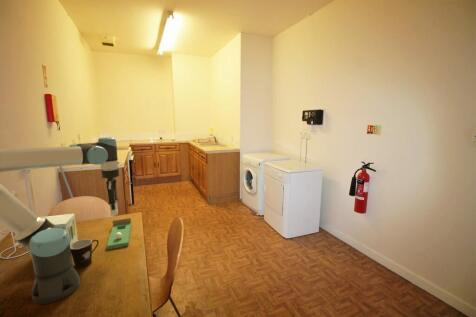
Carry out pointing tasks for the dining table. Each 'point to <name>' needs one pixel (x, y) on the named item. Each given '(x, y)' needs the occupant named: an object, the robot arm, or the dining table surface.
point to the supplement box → (65, 224)
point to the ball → (118, 235)
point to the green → (122, 227)
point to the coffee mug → (82, 252)
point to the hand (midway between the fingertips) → (114, 214)
